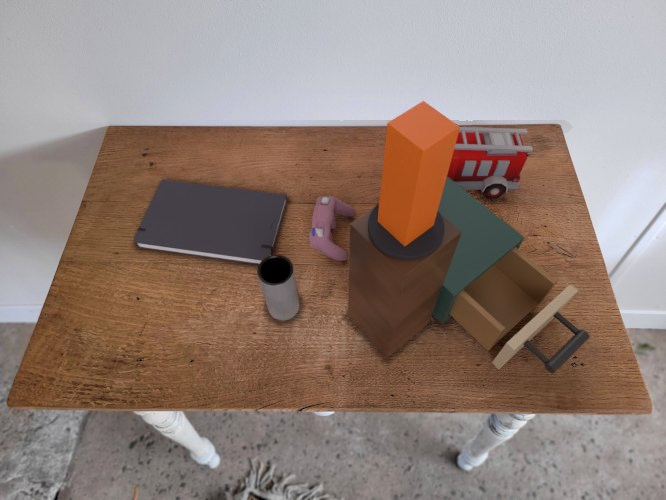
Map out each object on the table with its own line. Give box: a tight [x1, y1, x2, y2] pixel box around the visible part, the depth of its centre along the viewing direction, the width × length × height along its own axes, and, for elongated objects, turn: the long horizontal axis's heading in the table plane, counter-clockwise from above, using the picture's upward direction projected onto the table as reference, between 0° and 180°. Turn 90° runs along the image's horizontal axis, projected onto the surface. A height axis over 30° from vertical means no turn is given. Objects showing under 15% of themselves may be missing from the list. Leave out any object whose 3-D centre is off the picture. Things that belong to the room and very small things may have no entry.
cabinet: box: [432, 177, 525, 325], centre depth 69 cm, size 15×14×9 cm
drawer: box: [449, 247, 591, 374], centre depth 63 cm, size 18×12×7 cm
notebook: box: [133, 178, 288, 266], centre depth 76 cm, size 13×2×21 cm
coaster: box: [368, 203, 444, 259], centre depth 49 cm, size 8×8×1 cm
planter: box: [256, 254, 301, 321], centre depth 64 cm, size 4×4×10 cm
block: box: [378, 100, 461, 246], centre depth 43 cm, size 4×4×13 cm
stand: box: [347, 207, 462, 359], centre depth 58 cm, size 8×8×22 cm
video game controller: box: [308, 195, 355, 262], centre depth 73 cm, size 10×5×7 cm, turn 172°
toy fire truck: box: [447, 126, 534, 200], centre depth 77 cm, size 9×19×10 cm, turn 90°
